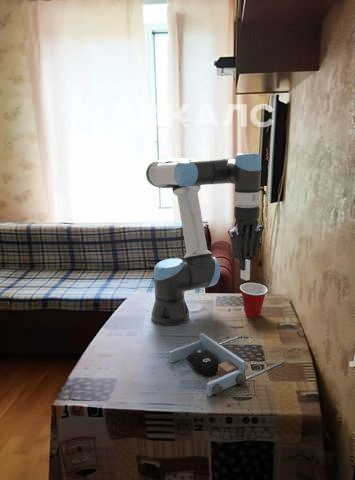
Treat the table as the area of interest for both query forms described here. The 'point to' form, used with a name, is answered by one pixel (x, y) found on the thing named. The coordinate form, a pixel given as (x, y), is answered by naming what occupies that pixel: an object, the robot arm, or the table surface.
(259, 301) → the plastic cup
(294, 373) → the table surface
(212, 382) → the blue u-shaped bracket
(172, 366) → the table surface
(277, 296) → the table surface
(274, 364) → the track
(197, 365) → the computer mouse
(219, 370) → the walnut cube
